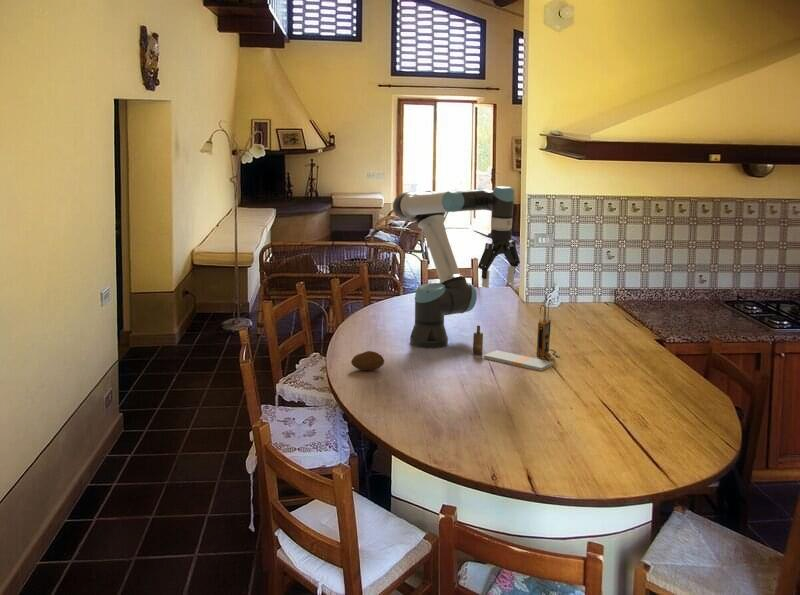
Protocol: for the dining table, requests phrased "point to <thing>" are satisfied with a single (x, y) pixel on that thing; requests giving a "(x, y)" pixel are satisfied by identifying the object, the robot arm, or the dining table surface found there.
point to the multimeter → (544, 336)
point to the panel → (518, 360)
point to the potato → (367, 361)
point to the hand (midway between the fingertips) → (497, 285)
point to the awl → (477, 342)
